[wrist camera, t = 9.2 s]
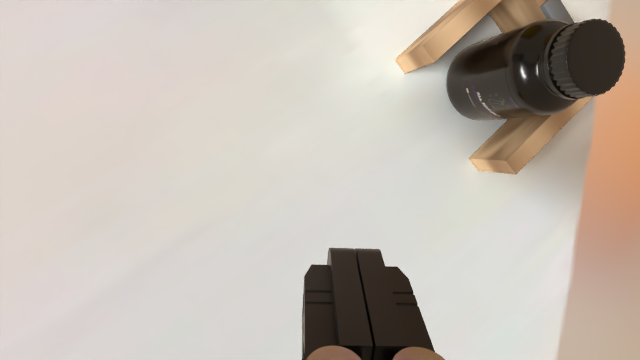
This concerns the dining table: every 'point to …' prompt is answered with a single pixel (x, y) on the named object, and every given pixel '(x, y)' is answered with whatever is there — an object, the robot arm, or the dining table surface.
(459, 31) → the frame
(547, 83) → the supplement bottle
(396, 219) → the dining table surface
